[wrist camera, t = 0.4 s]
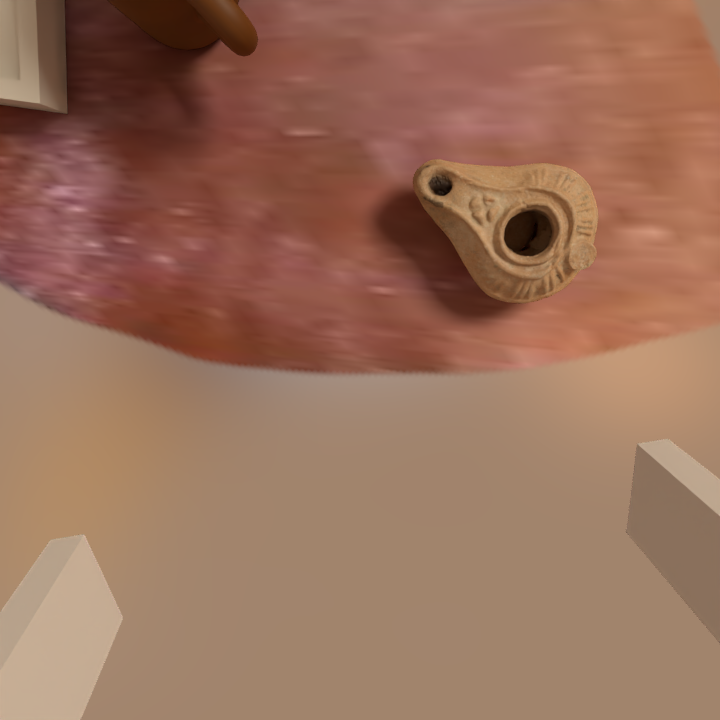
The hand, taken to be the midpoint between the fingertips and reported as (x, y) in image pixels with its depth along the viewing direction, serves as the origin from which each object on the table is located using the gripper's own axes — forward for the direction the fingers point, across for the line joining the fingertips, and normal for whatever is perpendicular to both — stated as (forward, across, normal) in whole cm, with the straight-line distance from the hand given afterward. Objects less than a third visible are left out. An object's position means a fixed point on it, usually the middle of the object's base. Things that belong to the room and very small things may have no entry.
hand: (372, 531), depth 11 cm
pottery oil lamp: (+26, +12, +3) cm, 28 cm away
